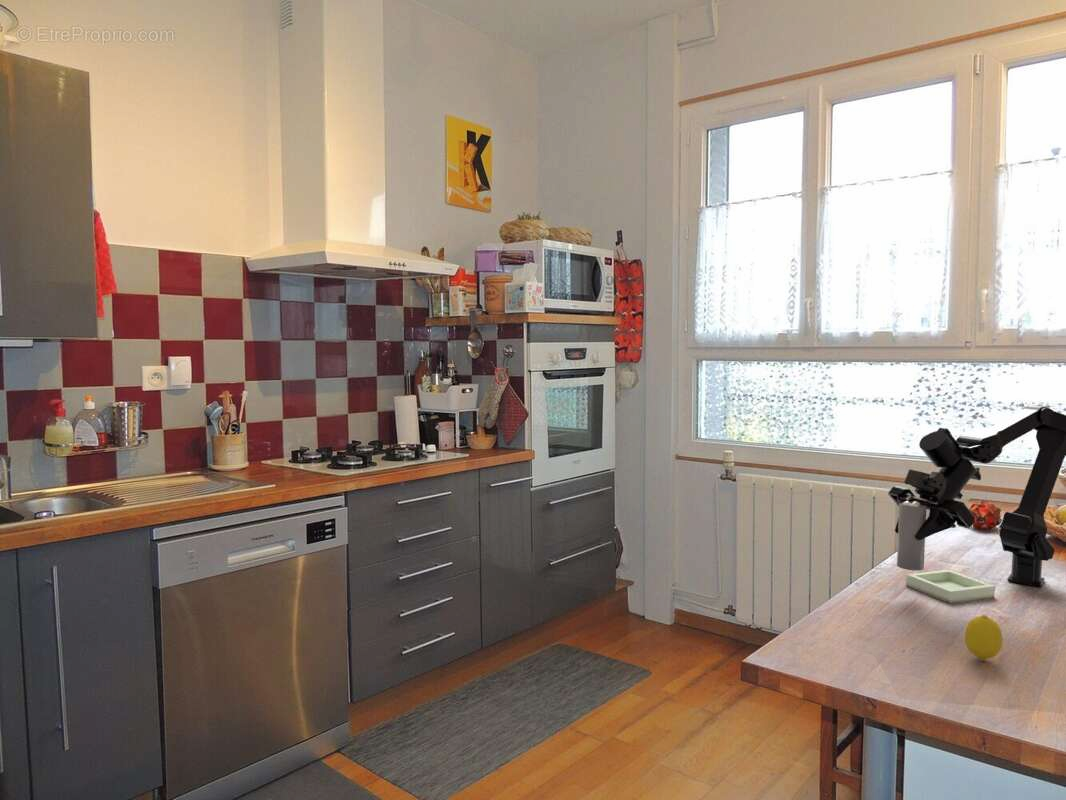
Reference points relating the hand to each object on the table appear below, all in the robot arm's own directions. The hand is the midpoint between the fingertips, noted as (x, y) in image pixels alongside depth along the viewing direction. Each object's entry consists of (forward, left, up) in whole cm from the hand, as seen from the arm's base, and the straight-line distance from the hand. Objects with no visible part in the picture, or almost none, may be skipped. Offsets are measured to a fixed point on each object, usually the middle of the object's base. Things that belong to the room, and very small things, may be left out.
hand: (906, 535), depth 160 cm
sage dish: (-10, +7, -13) cm, 18 cm away
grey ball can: (-1, +1, -7) cm, 7 cm away
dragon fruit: (-78, +3, -14) cm, 79 cm away
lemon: (+26, +19, -14) cm, 35 cm away
